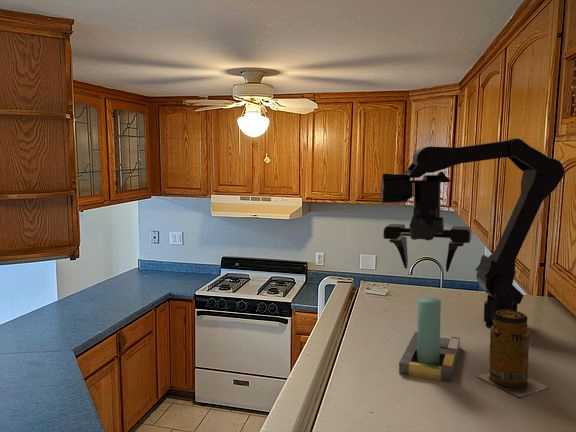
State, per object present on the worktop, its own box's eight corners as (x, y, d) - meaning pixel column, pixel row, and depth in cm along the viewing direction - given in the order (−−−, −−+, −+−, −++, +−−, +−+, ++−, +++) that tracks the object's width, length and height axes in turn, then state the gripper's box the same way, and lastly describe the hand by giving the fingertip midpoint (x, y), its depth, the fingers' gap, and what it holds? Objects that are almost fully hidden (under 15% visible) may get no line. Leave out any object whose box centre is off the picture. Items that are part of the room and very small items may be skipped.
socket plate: (459, 347, 94) (460, 336, 94) (451, 382, 80) (451, 369, 79) (415, 340, 98) (415, 330, 97) (399, 373, 83) (399, 361, 83)
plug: (436, 363, 87) (438, 297, 85) (441, 373, 83) (443, 304, 81) (415, 363, 87) (416, 297, 86) (419, 372, 83) (420, 303, 82)
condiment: (505, 368, 84) (507, 305, 83) (548, 388, 77) (551, 319, 75) (476, 377, 81) (478, 312, 80) (519, 399, 74) (521, 327, 72)
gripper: (377, 205, 101) (377, 274, 103) (468, 207, 93) (466, 282, 95) (389, 200, 111) (389, 263, 113) (472, 201, 103) (470, 270, 105)
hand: (426, 269), depth 106 cm, fingers open, 9 cm apart
